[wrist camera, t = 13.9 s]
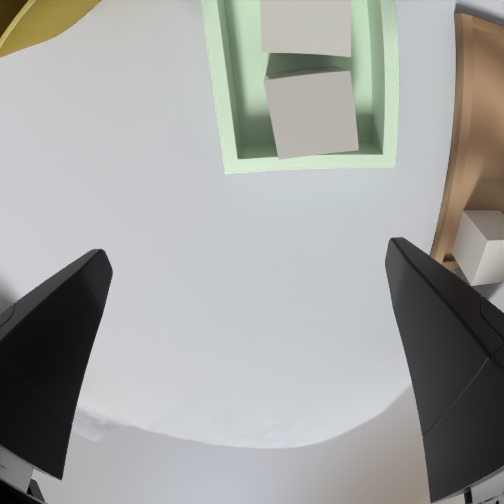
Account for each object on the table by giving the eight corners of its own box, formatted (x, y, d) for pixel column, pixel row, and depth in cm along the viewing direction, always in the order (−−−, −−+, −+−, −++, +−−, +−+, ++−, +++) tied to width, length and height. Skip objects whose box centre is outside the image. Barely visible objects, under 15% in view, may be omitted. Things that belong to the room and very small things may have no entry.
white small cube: (343, 129, 18) (358, 150, 14) (278, 137, 18) (278, 159, 15) (334, 65, 15) (350, 70, 12) (265, 74, 16) (263, 80, 13)
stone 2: (335, 55, 15) (350, 57, 12) (264, 52, 15) (261, 52, 12) (335, -8, 13) (350, -21, 9) (262, -11, 13) (258, -26, 10)
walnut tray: (494, 258, 23) (499, 265, 22) (427, 262, 24) (431, 270, 23) (532, 40, 11) (540, 42, 10) (454, 13, 12) (461, 13, 11)
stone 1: (487, 251, 22) (507, 281, 19) (451, 252, 22) (470, 285, 19) (499, 210, 19) (525, 239, 16) (462, 210, 20) (487, 240, 17)
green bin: (380, 151, 19) (395, 168, 16) (231, 156, 20) (225, 174, 17) (374, -23, 12) (390, -33, 9) (208, -19, 13) (196, -29, 11)
